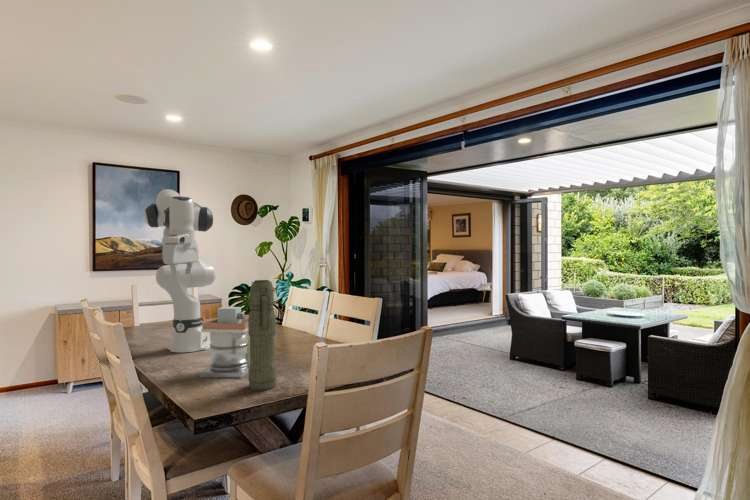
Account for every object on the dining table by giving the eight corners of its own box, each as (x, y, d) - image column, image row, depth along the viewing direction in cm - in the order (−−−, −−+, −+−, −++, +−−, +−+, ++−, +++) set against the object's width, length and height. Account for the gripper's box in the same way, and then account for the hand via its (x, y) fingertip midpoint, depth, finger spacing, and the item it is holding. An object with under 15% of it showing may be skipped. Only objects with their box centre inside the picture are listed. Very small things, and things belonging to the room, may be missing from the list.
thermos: (254, 393, 140) (253, 282, 140) (244, 384, 150) (243, 280, 150) (281, 389, 144) (280, 281, 144) (270, 380, 154) (269, 279, 154)
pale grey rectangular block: (223, 325, 169) (223, 306, 169) (246, 325, 168) (246, 307, 168) (217, 327, 164) (217, 308, 164) (240, 327, 163) (240, 308, 163)
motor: (219, 365, 175) (218, 317, 175) (258, 365, 173) (258, 318, 173) (198, 376, 159) (198, 324, 159) (241, 377, 157) (241, 325, 157)
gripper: (188, 238, 181) (188, 272, 181) (159, 238, 161) (159, 276, 161) (202, 238, 181) (202, 272, 181) (175, 238, 160) (175, 277, 161)
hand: (182, 274), depth 171 cm, fingers open, 8 cm apart
